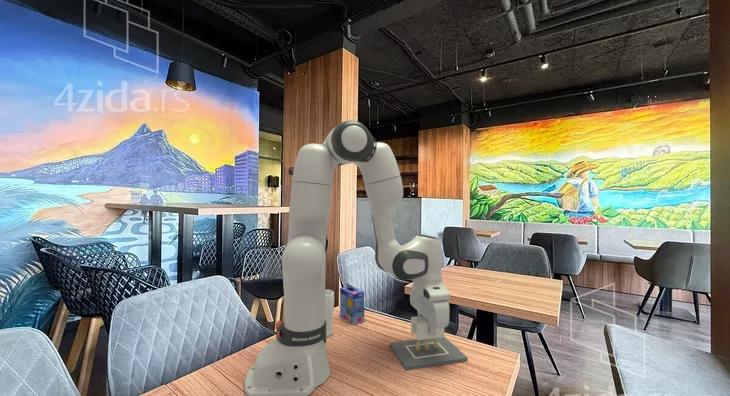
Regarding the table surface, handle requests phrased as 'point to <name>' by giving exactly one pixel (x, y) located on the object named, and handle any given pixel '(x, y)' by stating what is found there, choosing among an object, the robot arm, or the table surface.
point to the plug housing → (424, 328)
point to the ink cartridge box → (352, 304)
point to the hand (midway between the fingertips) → (427, 329)
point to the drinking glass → (329, 310)
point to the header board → (426, 353)
